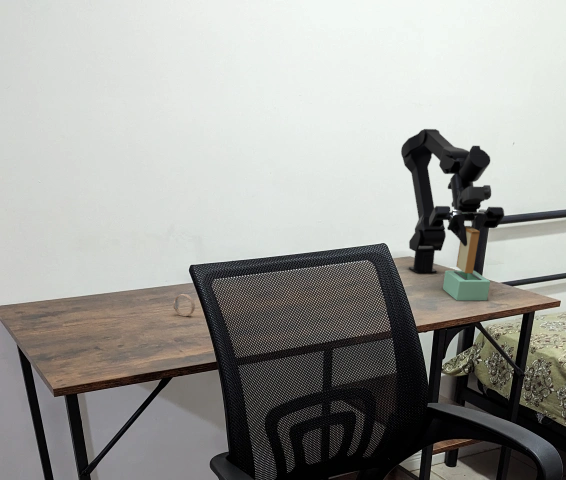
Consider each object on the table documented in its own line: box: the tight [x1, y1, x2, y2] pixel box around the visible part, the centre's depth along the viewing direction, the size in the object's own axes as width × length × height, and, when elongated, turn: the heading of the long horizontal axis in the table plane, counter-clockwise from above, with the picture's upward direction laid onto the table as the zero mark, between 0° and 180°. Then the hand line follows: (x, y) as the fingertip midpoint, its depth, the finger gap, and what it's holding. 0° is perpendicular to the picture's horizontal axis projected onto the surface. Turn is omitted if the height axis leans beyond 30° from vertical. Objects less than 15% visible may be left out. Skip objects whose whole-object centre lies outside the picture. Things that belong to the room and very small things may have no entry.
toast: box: [456, 225, 481, 273], centre depth 189 cm, size 8×2×10 cm, turn 7°
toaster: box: [442, 270, 491, 301], centre depth 194 cm, size 12×10×5 cm
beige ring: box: [172, 293, 196, 317], centre depth 169 cm, size 3×5×5 cm, turn 70°
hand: (470, 245), depth 187 cm, fingers closed on toast, 2 cm apart
